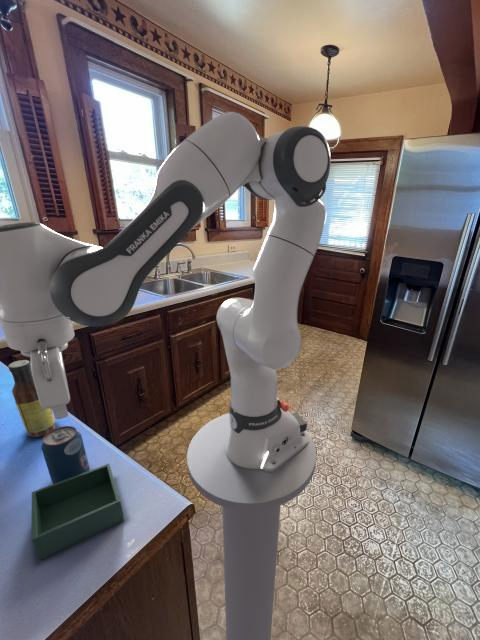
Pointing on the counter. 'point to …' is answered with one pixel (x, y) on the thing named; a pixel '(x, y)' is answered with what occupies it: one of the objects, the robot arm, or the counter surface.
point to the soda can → (64, 453)
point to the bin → (74, 510)
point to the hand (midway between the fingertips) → (59, 402)
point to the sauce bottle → (30, 401)
